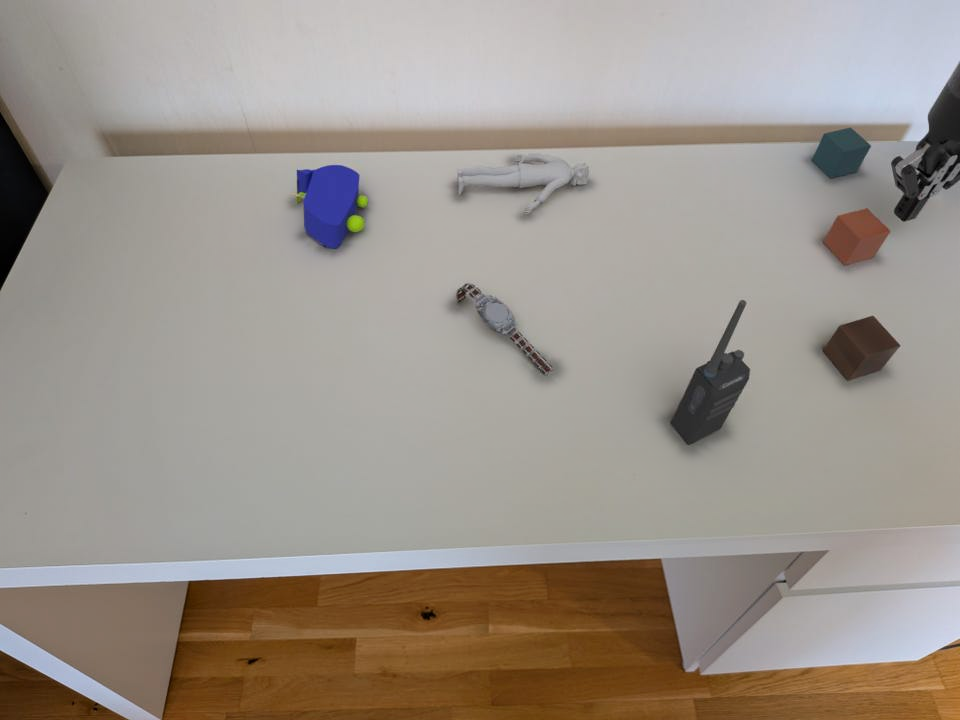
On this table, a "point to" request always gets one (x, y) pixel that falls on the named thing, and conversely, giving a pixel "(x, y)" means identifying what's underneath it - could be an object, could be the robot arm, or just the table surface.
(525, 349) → the wristwatch
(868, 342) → the walnut block
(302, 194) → the toy
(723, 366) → the walkie-talkie
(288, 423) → the table surface
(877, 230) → the terracotta block
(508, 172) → the figurine
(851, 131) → the teal block
